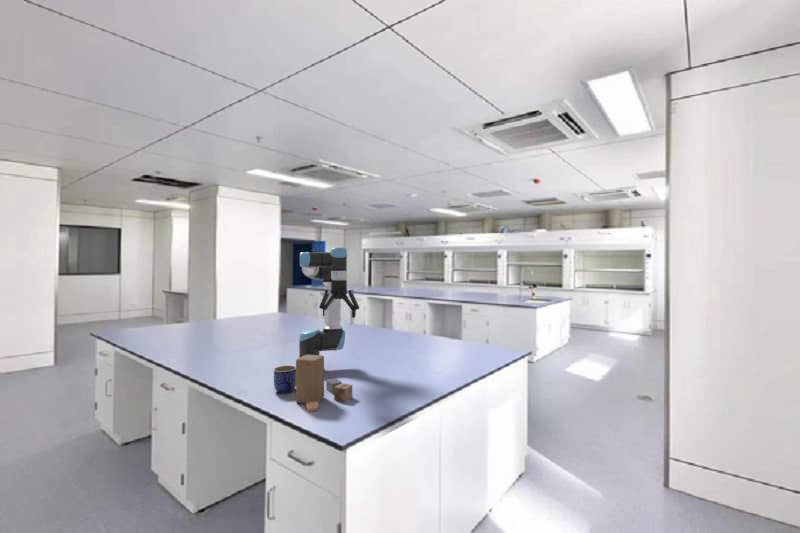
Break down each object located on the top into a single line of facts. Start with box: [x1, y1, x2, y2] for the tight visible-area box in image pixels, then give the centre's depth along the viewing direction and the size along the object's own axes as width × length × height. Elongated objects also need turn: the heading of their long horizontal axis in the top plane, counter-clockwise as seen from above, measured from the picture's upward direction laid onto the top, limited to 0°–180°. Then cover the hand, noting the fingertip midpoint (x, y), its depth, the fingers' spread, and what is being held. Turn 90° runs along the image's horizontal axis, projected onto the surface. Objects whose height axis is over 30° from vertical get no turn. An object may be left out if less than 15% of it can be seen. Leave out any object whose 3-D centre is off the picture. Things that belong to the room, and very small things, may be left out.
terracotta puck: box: [306, 401, 320, 413], centre depth 160 cm, size 5×5×3 cm
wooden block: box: [295, 354, 325, 405], centre depth 171 cm, size 10×10×20 cm
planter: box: [273, 365, 296, 394], centre depth 183 cm, size 11×11×11 cm
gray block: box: [325, 378, 342, 395], centre depth 183 cm, size 7×5×5 cm
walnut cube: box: [333, 383, 353, 403], centre depth 173 cm, size 6×6×6 cm
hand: (339, 323), depth 179 cm, fingers open, 13 cm apart
